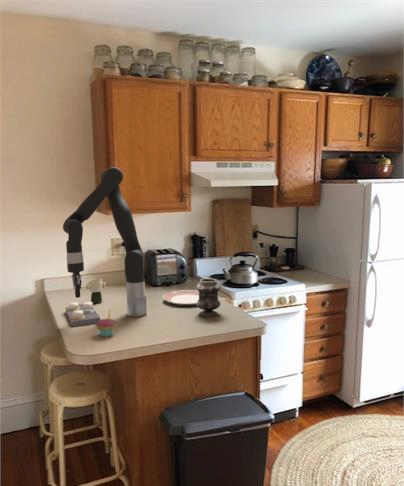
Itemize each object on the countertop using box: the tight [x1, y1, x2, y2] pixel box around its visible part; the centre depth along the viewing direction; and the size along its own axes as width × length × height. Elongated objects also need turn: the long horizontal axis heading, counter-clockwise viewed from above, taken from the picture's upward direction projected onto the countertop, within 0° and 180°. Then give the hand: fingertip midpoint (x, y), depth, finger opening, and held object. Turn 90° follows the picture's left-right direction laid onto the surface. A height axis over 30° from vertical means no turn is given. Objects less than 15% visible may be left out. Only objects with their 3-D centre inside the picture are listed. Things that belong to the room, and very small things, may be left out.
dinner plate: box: [162, 289, 199, 306], centre depth 241 cm, size 28×27×3 cm
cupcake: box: [95, 309, 117, 337], centre depth 186 cm, size 9×8×12 cm
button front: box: [73, 310, 83, 318], centre depth 204 cm, size 5×5×2 cm
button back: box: [68, 301, 79, 309], centre depth 218 cm, size 5×5×2 cm
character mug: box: [85, 278, 107, 304], centre depth 239 cm, size 11×7×13 cm, turn 111°
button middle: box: [82, 301, 94, 309], centre depth 213 cm, size 5×5×2 cm
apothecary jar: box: [195, 277, 221, 318], centre depth 214 cm, size 12×12×18 cm
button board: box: [65, 304, 101, 328], centre depth 213 cm, size 26×13×3 cm, turn 25°
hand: (77, 297), depth 202 cm, fingers closed
